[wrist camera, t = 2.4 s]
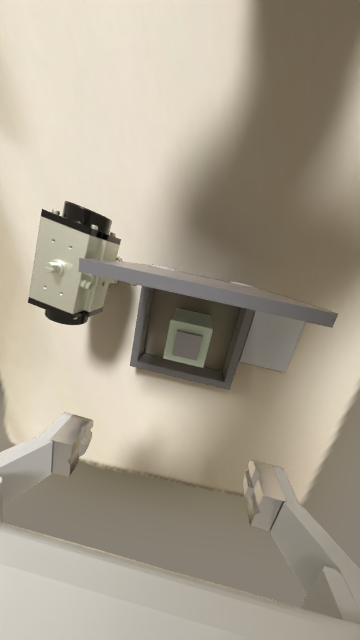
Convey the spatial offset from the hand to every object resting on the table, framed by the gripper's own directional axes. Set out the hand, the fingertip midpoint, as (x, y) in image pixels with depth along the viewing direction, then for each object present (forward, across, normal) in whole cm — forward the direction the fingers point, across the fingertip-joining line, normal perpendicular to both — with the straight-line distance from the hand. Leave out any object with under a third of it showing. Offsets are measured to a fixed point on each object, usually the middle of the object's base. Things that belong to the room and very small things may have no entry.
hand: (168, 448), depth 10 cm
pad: (+20, -12, -2) cm, 24 cm away
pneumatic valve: (+21, +13, -7) cm, 25 cm away
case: (+20, 0, -1) cm, 21 cm away
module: (+20, 0, -1) cm, 21 cm away
